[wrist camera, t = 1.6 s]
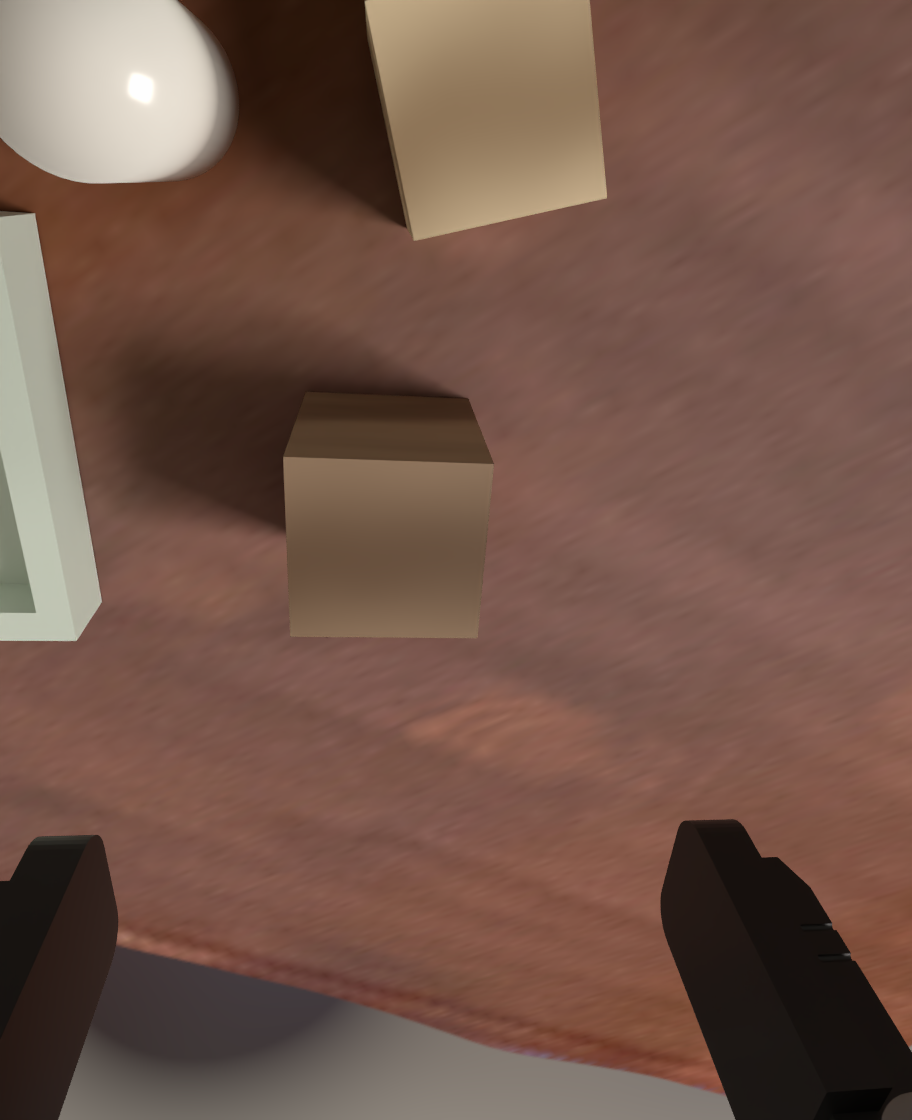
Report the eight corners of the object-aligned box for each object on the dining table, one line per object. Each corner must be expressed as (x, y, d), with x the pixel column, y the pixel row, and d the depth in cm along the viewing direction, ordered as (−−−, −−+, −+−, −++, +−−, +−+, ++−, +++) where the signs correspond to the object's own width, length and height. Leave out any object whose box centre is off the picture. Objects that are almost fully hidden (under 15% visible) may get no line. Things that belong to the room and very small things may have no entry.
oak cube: (367, 37, 19) (364, 1, 15) (541, -2, 19) (584, -49, 15) (406, 228, 21) (414, 240, 17) (563, 193, 21) (607, 198, 17)
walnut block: (305, 391, 23) (283, 456, 17) (468, 398, 23) (494, 464, 18) (309, 538, 25) (290, 636, 20) (457, 541, 26) (477, 638, 20)
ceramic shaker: (62, -13, 18) (-74, -93, 12) (233, 4, 18) (173, -67, 13) (88, 175, 20) (-21, 175, 14) (244, 186, 20) (195, 191, 15)
